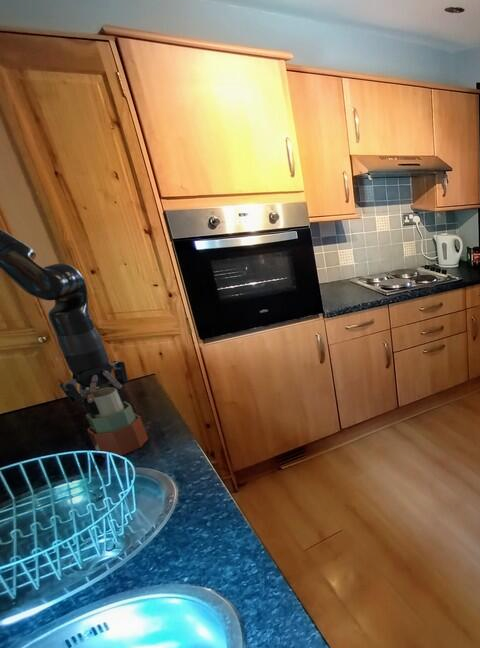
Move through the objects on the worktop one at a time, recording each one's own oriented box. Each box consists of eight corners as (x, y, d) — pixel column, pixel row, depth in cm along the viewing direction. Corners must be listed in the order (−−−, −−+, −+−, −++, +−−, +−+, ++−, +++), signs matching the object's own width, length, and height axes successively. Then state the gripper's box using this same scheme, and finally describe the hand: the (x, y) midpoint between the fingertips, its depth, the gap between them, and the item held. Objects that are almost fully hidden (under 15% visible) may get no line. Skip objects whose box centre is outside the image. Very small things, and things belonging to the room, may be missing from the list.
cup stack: (108, 461, 114) (92, 424, 110) (92, 448, 119) (76, 413, 115) (153, 441, 122) (140, 406, 118) (137, 430, 127) (123, 396, 122)
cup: (105, 431, 114) (91, 400, 110) (96, 424, 117) (82, 394, 113) (132, 420, 119) (120, 390, 115) (122, 414, 121) (110, 385, 118)
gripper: (100, 335, 116) (123, 393, 123) (36, 358, 103) (65, 421, 110) (124, 338, 115) (146, 396, 122) (62, 361, 102) (90, 424, 109)
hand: (107, 407), depth 116 cm, fingers closed on cup, 5 cm apart
